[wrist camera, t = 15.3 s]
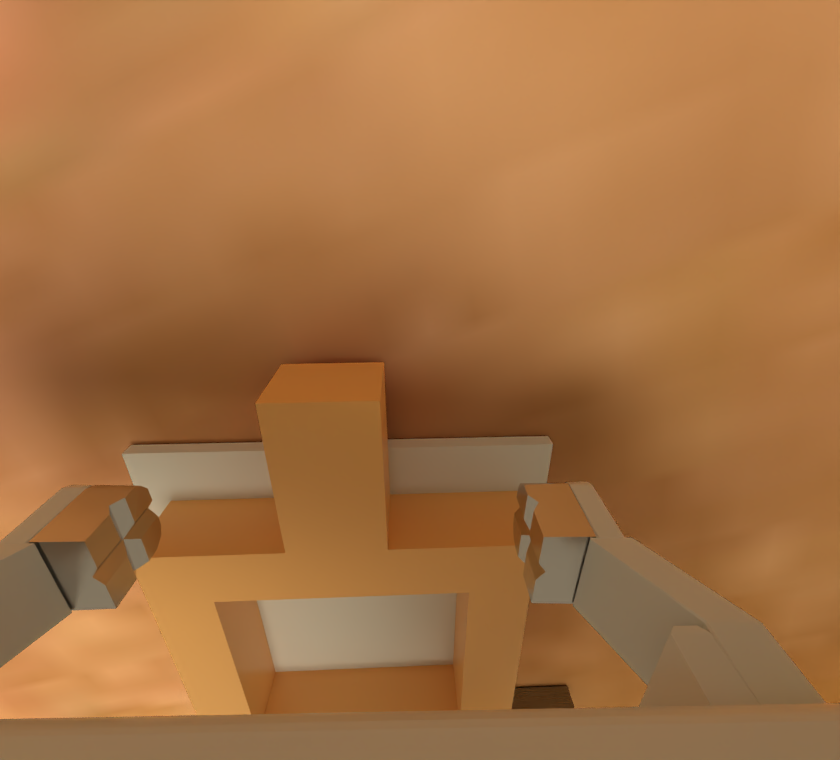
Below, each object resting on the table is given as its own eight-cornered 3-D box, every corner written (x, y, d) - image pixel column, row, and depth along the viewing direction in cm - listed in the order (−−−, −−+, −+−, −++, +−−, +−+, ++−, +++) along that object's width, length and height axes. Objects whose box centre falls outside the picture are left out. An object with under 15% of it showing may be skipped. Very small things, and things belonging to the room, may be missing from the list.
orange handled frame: (534, 359, 12) (563, 396, 10) (493, 687, 20) (504, 750, 17) (124, 367, 12) (62, 407, 10) (239, 699, 19) (218, 764, 17)
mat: (548, 435, 14) (553, 444, 14) (510, 676, 20) (512, 687, 20) (130, 444, 14) (121, 453, 13) (220, 688, 20) (215, 700, 19)
